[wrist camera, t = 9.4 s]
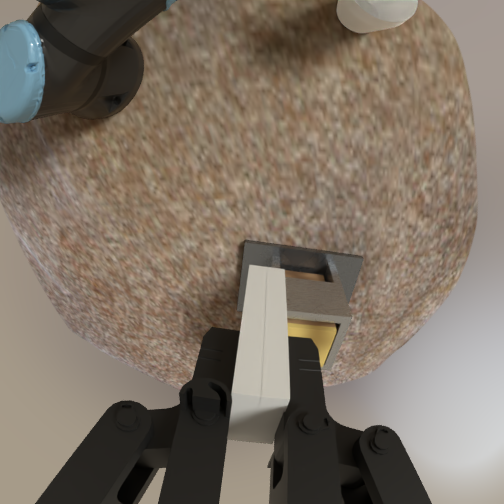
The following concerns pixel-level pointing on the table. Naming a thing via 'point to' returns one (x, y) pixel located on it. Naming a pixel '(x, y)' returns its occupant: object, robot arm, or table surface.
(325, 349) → the block
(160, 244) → the table surface
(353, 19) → the cup
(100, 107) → the robot arm
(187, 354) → the table surface
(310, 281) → the chute
